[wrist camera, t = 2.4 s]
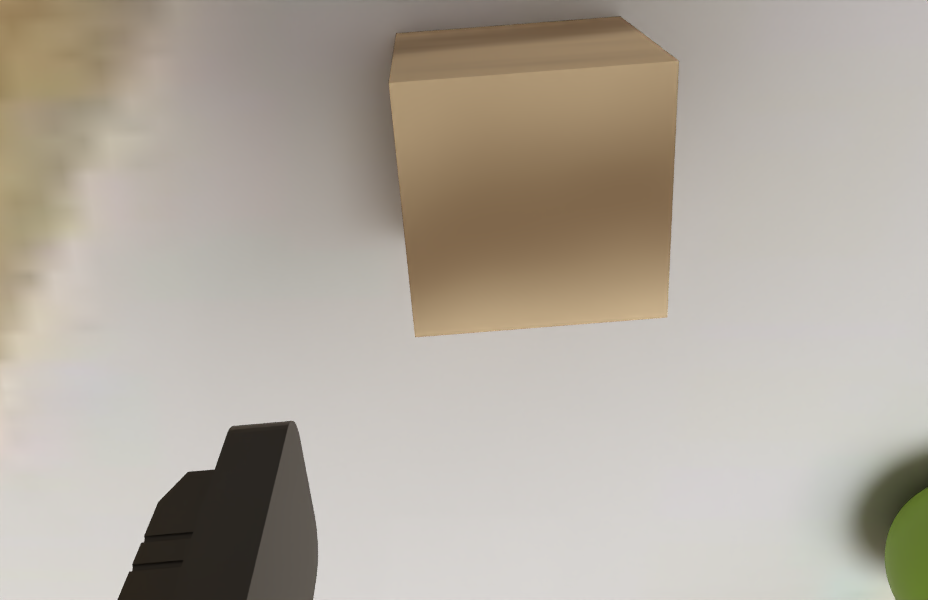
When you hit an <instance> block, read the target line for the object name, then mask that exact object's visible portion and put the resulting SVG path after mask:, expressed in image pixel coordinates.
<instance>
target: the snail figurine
mask: <svg viewBox="0 0 928 600" xmlns="http://www.w3.org/2000/svg"><path fill="white" fill-rule="evenodd" d="M885 568H886V574H887V578H888V582H889V585H890V588H891V590H892V593H893V595H894V597H895V599H896V600H928V488H926V489H924V490H922V491H921V492H919V493H918V494H916V495H915V496H914V497H912V498H911V499H910V500H909V501H908V502H907V503H906V504H905V505H904V506H903V507H902V508H901V510H900V511H899V512H898V514H897V515H896V517H895V519H894V521H893V522H892V525H891V527H890V529H889V532H888V536H887V540H886V545H885Z"/></svg>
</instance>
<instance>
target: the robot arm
mask: <svg viewBox="0 0 928 600" xmlns="http://www.w3.org/2000/svg"><path fill="white" fill-rule="evenodd" d="M144 537H145V541H144V543H141V545H140V547H139V550H138V552H137V554H136V557H135V559H134V562H133V564H132V565H133V570H132V572H129V574H128V576H127V578H126V581H125V583H124V586H123V588H122V590H121V593H120V595H119V598H118V600H313V596H314V590H315V583H316V576H317V566H318V541H317V528H316V521H315V515H314V510H313V505H312V499H311V494H310V489H309V483H308V478H307V473H306V468H305V462H304V457H303V452H302V446H301V441H300V436H299V432H298V429H297V426H296V424H295V422H294V421H286V422H274V423H263V424H251V425H239V426H232V427H231V428H230V429H229V431H228V433H227V436H226V439H225V442H224V444H223V447H222V450H221V453H220V456H219V459H218V462H217V465H216V468H215V470H205V471H193V472H187V473H186V475H185V476H184V477H183V478H182V479H181V480H180V481H179V482H178V483H177V484H176V485H175V486H174V487H173V488H172V489H171V490H170V491H169V492H168V493H167V494H166V495H165V496H164V497H163V498H162V499H161V500H160V501H159V502H158V504H157V507H156V509H155V511H154V514H153V516H152V519H151V521H150V523H149V526H148V528H147V531H146V533H145V535H144Z"/></svg>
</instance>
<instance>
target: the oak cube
mask: <svg viewBox="0 0 928 600" xmlns="http://www.w3.org/2000/svg"><path fill="white" fill-rule="evenodd" d="M678 69H679V61H678V60H677V59H676V58H674V57H673V56H672V55H670V54H669V53H668V52H666V51H665V50H664V49H662V48H661V47H660V46H659V45H657V44H656V43H655V42H653V41H652V40H651V39H649V38H648V37H647V36H645V35H644V34H643V33H641V32H640V31H639V30H637V29H636V28H635V27H633V26H632V25H631V24H630V23H628V22H627V21H626V20H624V19H623V18H622V17H620V16H619V17H606V18H593V19H579V20H566V21H553V22H540V23H526V24H513V25H500V26H487V27H473V28H460V29H447V30H433V31H420V32H407V33H396V38H395V45H394V51H393V58H392V64H391V70H390V77H389V92H390V101H391V111H392V121H393V130H394V140H395V149H396V159H397V168H398V178H399V187H400V197H401V207H402V216H403V226H404V235H405V245H406V254H407V264H408V274H409V283H410V293H411V302H412V312H413V321H414V331H415V337H424V336H437V335H449V334H462V333H475V332H488V331H500V330H513V329H526V328H538V327H551V326H564V325H576V324H589V323H602V322H615V321H627V320H640V319H653V318H665V317H667V309H668V288H669V266H670V244H671V222H672V200H673V178H674V156H675V134H676V112H677V90H678Z"/></svg>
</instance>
